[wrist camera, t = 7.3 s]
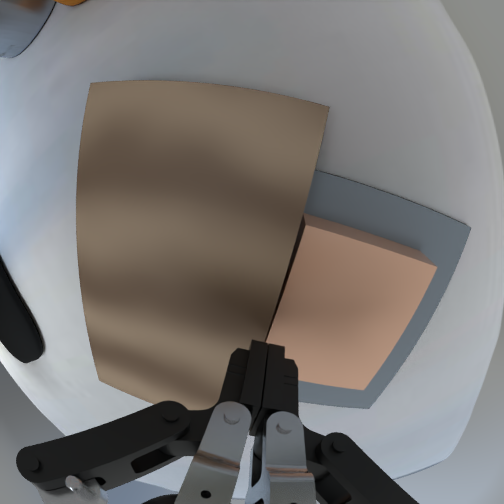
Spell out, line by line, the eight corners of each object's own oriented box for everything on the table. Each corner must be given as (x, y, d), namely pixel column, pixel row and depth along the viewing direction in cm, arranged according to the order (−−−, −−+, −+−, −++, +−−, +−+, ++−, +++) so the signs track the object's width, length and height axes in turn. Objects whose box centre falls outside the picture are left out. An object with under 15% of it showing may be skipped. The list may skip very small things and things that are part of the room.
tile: (303, 212, 15) (305, 224, 13) (420, 250, 15) (437, 267, 12) (258, 346, 19) (254, 370, 16) (358, 366, 19) (363, 390, 16)
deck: (128, 91, 14) (90, 82, 10) (318, 117, 13) (329, 107, 10) (119, 352, 22) (99, 380, 19) (241, 392, 22) (234, 427, 18)
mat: (306, 167, 15) (307, 168, 14) (466, 225, 14) (471, 227, 14) (243, 385, 21) (242, 390, 21) (367, 404, 21) (368, 408, 20)
